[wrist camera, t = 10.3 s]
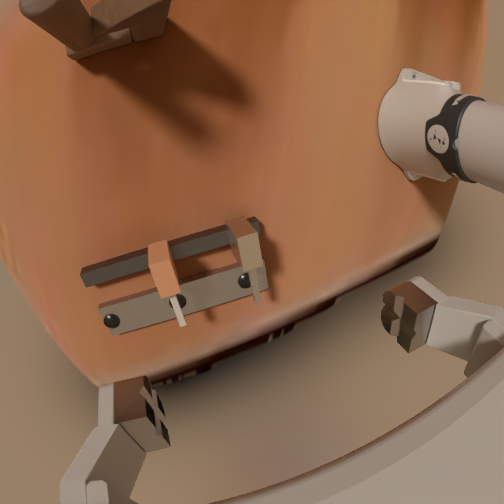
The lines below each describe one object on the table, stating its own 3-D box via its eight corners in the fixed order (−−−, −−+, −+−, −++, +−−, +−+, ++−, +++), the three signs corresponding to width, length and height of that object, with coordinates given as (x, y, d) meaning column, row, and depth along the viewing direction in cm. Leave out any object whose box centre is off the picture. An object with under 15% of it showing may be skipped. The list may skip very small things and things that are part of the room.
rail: (252, 208, 41) (272, 227, 35) (263, 271, 46) (282, 298, 40) (78, 260, 37) (68, 289, 31) (106, 318, 42) (103, 352, 35)
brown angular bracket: (164, 36, 29) (178, -23, 13) (74, 61, 27) (16, 28, 11) (159, 9, 27) (172, -63, 11) (70, 35, 25) (14, -15, 9)
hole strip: (261, 255, 45) (264, 259, 44) (265, 284, 47) (269, 289, 46) (98, 304, 40) (97, 310, 39) (111, 330, 43) (111, 336, 41)
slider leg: (166, 239, 37) (169, 259, 33) (187, 303, 42) (194, 328, 38) (147, 245, 37) (148, 265, 32) (171, 308, 42) (175, 334, 37)
